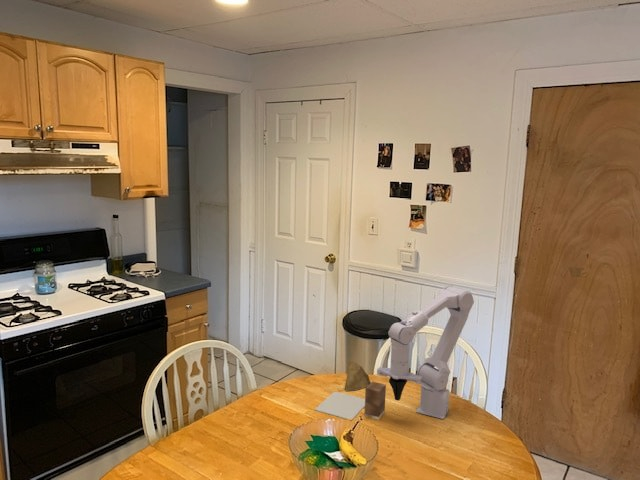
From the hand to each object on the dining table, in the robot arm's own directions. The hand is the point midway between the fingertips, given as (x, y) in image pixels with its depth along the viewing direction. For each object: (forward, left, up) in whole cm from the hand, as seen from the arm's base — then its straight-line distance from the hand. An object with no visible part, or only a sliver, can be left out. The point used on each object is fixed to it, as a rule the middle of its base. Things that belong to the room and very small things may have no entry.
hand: (397, 399), depth 159 cm
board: (+20, 0, -7) cm, 21 cm away
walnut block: (+8, 0, -8) cm, 11 cm away
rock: (+21, -16, -8) cm, 27 cm away
